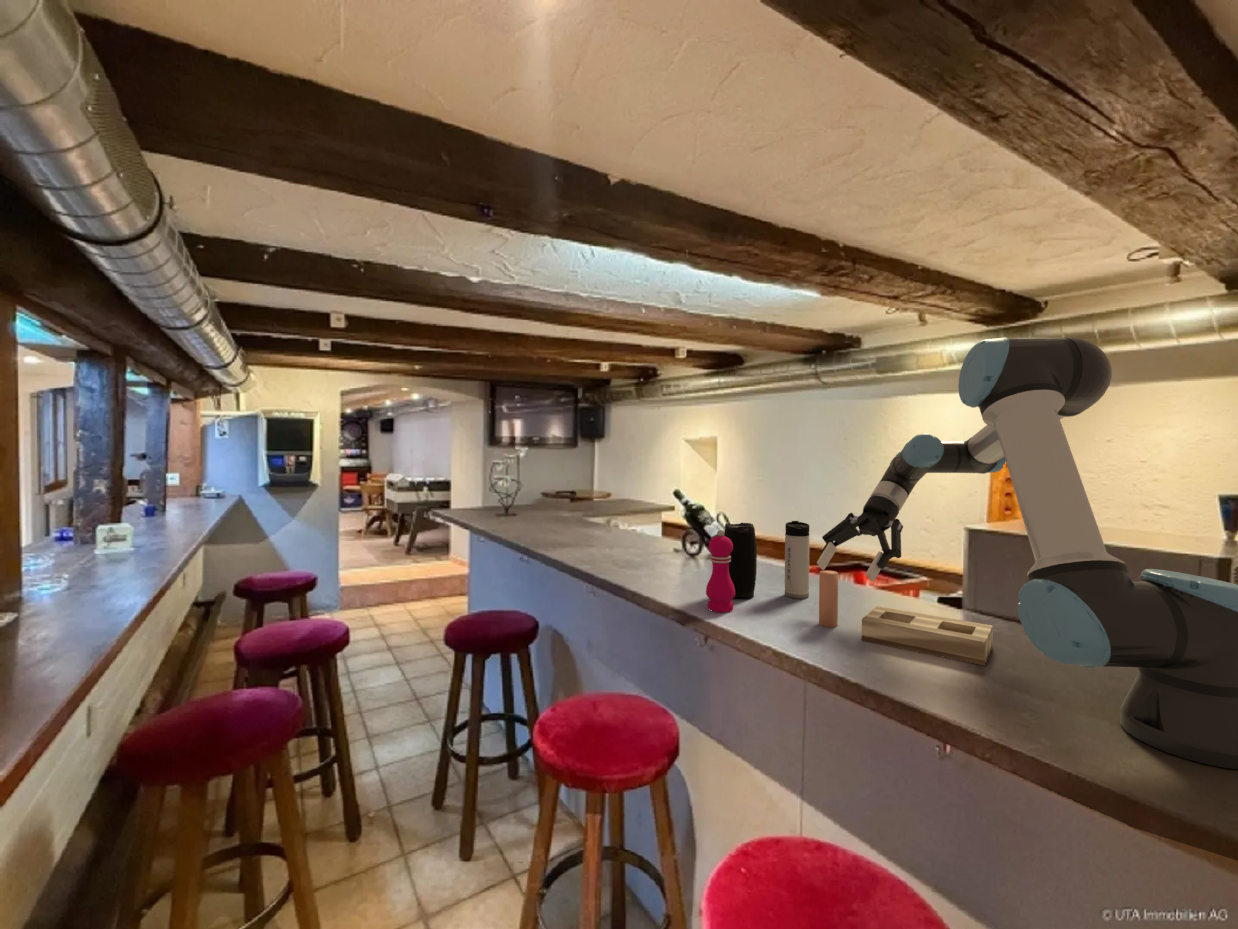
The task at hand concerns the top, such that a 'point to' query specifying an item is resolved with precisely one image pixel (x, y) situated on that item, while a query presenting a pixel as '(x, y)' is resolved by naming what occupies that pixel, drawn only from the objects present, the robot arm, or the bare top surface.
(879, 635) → the socket block
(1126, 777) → the top surface
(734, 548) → the portable speaker
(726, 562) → the pepper mill
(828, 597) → the pin
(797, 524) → the travel mug
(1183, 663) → the robot arm
